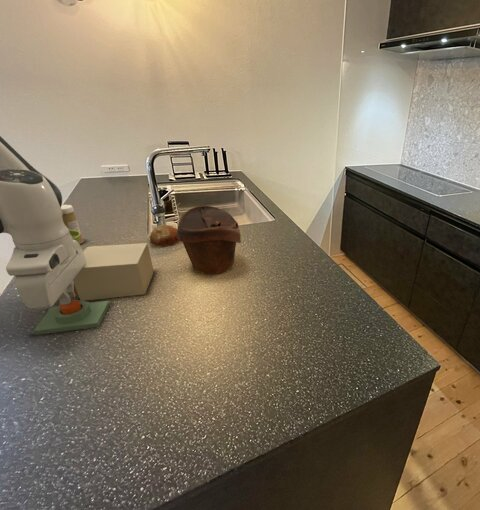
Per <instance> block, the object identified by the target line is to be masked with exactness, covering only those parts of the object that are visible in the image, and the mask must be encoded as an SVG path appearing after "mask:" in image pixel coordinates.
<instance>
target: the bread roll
mask: <svg viewBox="0 0 480 510" xmlns="http://www.w3.org/2000/svg"><path fill="white" fill-rule="evenodd" d="M177 229H178V228H176V227H174V226H172V225H166V224H159V225H157V226H155V227H154V228H153V229H152V231H151V232H150V235H149V241H150V243H151V245H153V246H154V247H168V246H173V245H176V244H178V243H179V242H180V241H179V240H178V239H177Z"/></svg>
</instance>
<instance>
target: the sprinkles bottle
mask: <svg viewBox="0 0 480 510" xmlns="http://www.w3.org/2000/svg"><path fill="white" fill-rule="evenodd" d="M61 210H62V219H63V222H64V224H65V226H66V227H67V228H68V230H75V231H79V232H80V234H81V235H80V240H79V242H80V245H81V244H83V243H84V241H85V240H84V238H83V235H82V233H81V229H80V225H79V223H78V220H77V217H76V214H75V209H74V207H73V206H72V204H62V206H61Z"/></svg>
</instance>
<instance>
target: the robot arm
mask: <svg viewBox="0 0 480 510" xmlns="http://www.w3.org/2000/svg"><path fill="white" fill-rule="evenodd" d="M62 205H63V195H62V192H61V189H59V187H58V186H57V185H56V184H55V183H54V182H53V181H52V180H51V179H49V178H48V177H47V176H46V175H44V174H42V172H40V171H38V170H37V169H36V168H35V167H33V166H32V165H31V164H30V163H29V162H28V161H27V160H26V159H25V158H24V157H23V156H22V155H21V154H20V153H19V152H18V151H17V150H15V149H14V147H13V146H11V145H10V144H9V143H8V142H7V141H6V139H4V138H3V137H2V136H1V135H0V234H8V235H10V236H11V240H12V243H13V245H14V247H13V250H12V255H11V257H10V259H9V261H8V262H7V263H6V266H5V271H6V272H7V273H6V274H8V276H12V277H13V276H15V277H14V284H15V285H14V286H15V288H16V291H17V292H18V294H19V296H20V298H21V300H22V301H23V303H24V305H25V307H27V308H28V309H31V310H40V309H41V310H43V309H51V307H54V305H55V303H56V302H57V301H58V300H59V302H60V305H61V304H63V305H64V304H70V303H71V301H72V300H74V299H75V298H76V297H75V293H74V291H73V290H74V281H73V279H74V278H75V277H76V275H77V274H78V273H79V271H80V270H81V269H82V268H83V266H84V265H85V264H86V259H85V256H84V254H83V251H84V250H83V248H82V247H81V244H80V245H79V243H78V242H77V241H76V240H73V238H72V236H71V235H70V232H69V230H68V228H67V227H66V226H65V224H64V222H63V219H62V210H61V206H62Z"/></svg>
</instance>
